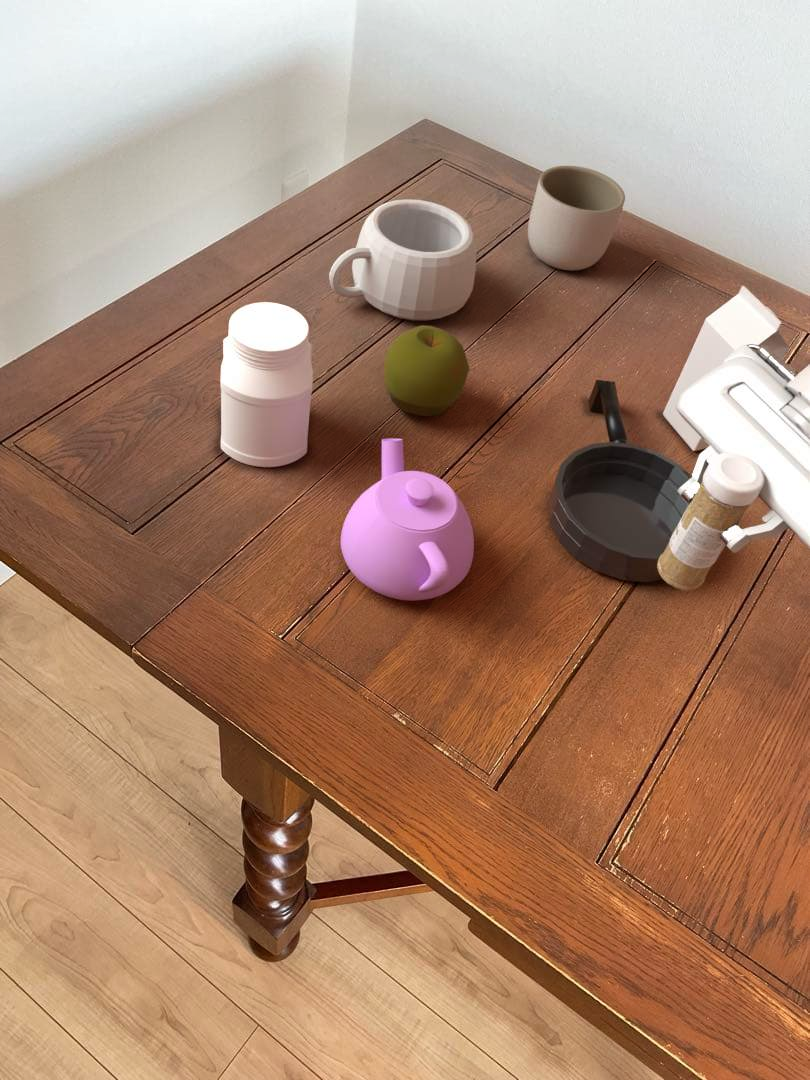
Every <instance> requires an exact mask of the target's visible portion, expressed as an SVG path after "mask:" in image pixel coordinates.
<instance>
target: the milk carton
mask: <svg viewBox="0 0 810 1080" xmlns="http://www.w3.org/2000/svg"><path fill="white" fill-rule="evenodd" d="M782 324H783V323H782V321H781V320H780V318H779V317H778V316H777V315H776V313H775V312H774V311H773V310H772V309H771V308H769V307H768V306H765V305H764V304H763V302H762V301H760V300H759V299H758V298H757V296H756V295H755V294H753V293H752V292H751V291H750V290H749V289H748V288H747V287H746V286H745V285H741V287H740V289H739V292H738V293H737V294H735V296H732V297H731V298H730V299H729V300H728V301H727V302H726V303H724V304H722V305H721V306H720V307H719V308H718V309H716V310H714V311H713V312H712V313H711V314H709V315H708V316H707V317H706V318H705V320H704V321H703V324H702V326H701V329H700V330H699V333H698V335H697V337H696V339H695V342H694V344H693V345H692V348H691V351H690V353H689V354H688V357H687V360H686V361H685V364H684V365H683V368H682V370H681V372H680V375H679V377H678V379H677V381H676V383H675V385H674V387H673V390H672V392H671V394H670V396H669V399H668V401H667V403H666V405H665V408H664V409H663V412H662V416H663V418H665V420H666V421H667V422H668V423H669V424H670V426H672V428H673V429H674V430H675V431H676V433H678V435H679V436H680V437H681V438H682V440H683V441H684V442H685V443H686V444H687V445H688V447H689V448H690V449H691V451H693V452H697V451H701V450H705V449H706V448H707V447H709V445H708V444H707V443H706V442H705V441H704V440H703V439H702V438H701V437H700V436H699V434H698V433H697V432H696V431H695V430H694V429H693V428H692V427H691V426H690V425H689V424H688V423H687V422H686V421H685V420H684V419H683V417H682V416H681V415H680V414H679V412H678V411H677V409H676V406H677V402H678V398H679V396H680V394H681V393H682V392H683V391H685V390H686V389H687V388H688V387H690V386H691V385H692V384H693V383H695V382H696V381H697V380H699V379H700V378H702V377H703V376H704V375H706V374H707V373H709V372H710V371H712V370H713V369H715V368H716V367H718V366H720V365H721V364H722V363H723V361H724V360H725V359H726V358H727V357H728V356H729V355H730V354H731V353H733V352H734V351H735V350H736V349H737V348H739V347H740V346H742V345H748V344H755V345H759V346H763V345H765V346H768V347H769V348H771V349H772V350H773V351H774V352H775V353H776V355H777V356H778V357H779V358H780V359H781V360H782V361H784V358H785V356H786V355H787V353H788V351H789V349H790V346H789V344H788V342H787V341H786V340H785V338H784V337H783V335H782V334H781V333H780V331H779V329H780V327H781V326H782ZM752 350H753V351H754V352H755V353H756V354H757V350H755V349H752ZM757 355H758V354H757ZM768 365H769V364H768ZM769 366H770V365H769ZM770 367H771V366H770ZM771 368H772V367H771ZM772 369H773V368H772ZM773 370H774V369H773Z"/></svg>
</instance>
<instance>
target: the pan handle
mask: <svg viewBox="0 0 810 1080" xmlns="http://www.w3.org/2000/svg"><path fill="white" fill-rule="evenodd" d="M617 390H618V389H617V386H616V382H615V381H613V380H612V381H611V380H602V379H596V380H595V382H594V385H593V387H592V390H591V393H590V395H589V398H588V407H589V412H591V413H598V414H599V413H600V414H603V416H604V421H605V426H606V431H607V436H608V442H618V443H627V444H629V442H628V438H627V437H628V436H627V433H626V429H625V424H624V419H623V415H622V411H621V406H620V402H619V401H620V400H619V397H618V391H617Z"/></svg>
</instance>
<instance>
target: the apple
mask: <svg viewBox="0 0 810 1080" xmlns="http://www.w3.org/2000/svg"><path fill="white" fill-rule="evenodd" d="M464 349H465V348H464V347H463V344H461V342H460V341H459V340H458V339H457V338H456V337H455V336H454V335H452V334H451V333H450V332H448V331H447V330H444V329H441V328H439V327H436V326H433V325H418V326H416V327H413V328H410V329H408V330H406V331H404V332H402V334H400V335H399V336H397V337H396V338H395V340H393V342H392V344H391V345H390V347H389V348H388V351H387V353H386V355H385V357H384V364H383V365H384V366H383V367H384V368H383V369H384V370H383V378H384V383H385V388H386V390H387V392H388V395H389V398H390V400H391V402H392V403H393V404H394V405H395V406H396V407H398V408H399V409H400V410H403V411H405V412H407V413H409V414H412V415H417V416H420V417H423V416H424V417H425V416H426V417H427V416H428V417H429V416H430V417H432V416H436V415H439V414H443V413H444V412H445V411H447V409H448V408H450V406H452V404H453V403H454V402H455V401H456V400H458V398H459V397H460V396H461V395H462V393H463V390H464V386H465V384H466V381H467V378H468V374H469V371H470V365H469V362H468V358H467V356H466V352H465V350H464Z"/></svg>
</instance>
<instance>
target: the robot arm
mask: <svg viewBox="0 0 810 1080" xmlns="http://www.w3.org/2000/svg"><path fill="white" fill-rule="evenodd" d="M752 349H755V350H757V354H758V355H757V354H756V353H755V352H754V351H753V350H752ZM768 364H769V365H770V366H771V367H772V368H773V369H774V370H773V369H772V368H771V367H770V366H769V365H768ZM676 409H677V411H678V412H679V414H680V415H681V416H682V417H683V419H684V420H685V421H686V422H687V423H688V424H689V425H690V426H691V427H692V428H693V429H694V430H695V431H696V432H697V433H698V434H699V436H700V437H701V438H702V439H703V440H704V441H705V442H706V443H707V444H708V445H709V447H707V448H705V449H703V450H702V451H701V452H700V453H699V454H698V456H697V461H696V463H695V466H694V468H693V470H692V474H691V476H692V477H691V478H690V479H689V480H688V481H687V482H686V483H685V484H683V485H682V486H681V487H680V488H679V489H678V493H679V494H680V495H681V496H682V497H683V498H684V499H685V500H686V502H687V503H688V504H690V503H691V502H692V500H693V497H694V496H695V494H696V492H697V490H698V488H699V487H700V485H701V483H702V481H703V475H704V473H705V471H706V469H707V467H708V465H709V463H710V462H711V460H712V459H713V458H714V457H715V456H717V455H719V454H722V453H735V454H740V455H742V456H745V457H747V458H749V459H750V460H752V461H753V462H754V463H756V464H757V465H758V467H759V468H760V469H761V471H762V473H763V475H764V484H763V487H762V489H761V491H760V492H759V494H758V496H757V497H758V498H759V499H760V500H761V501H762V502H763V503H764V504H765V505H766V506H767V507H768V508H769V509H770V510H769V511H767V512H766V513H765V514H763V516H761V520H762V522H763V523H762V524H758V525H753V526H749V527H745V528H741V527H740V526H739V524H738V525H737V524H736V523H734V524H733V525H732V526H731V527H729V529H728V531H725V532H723V533H722V534H721V535H720V537H719V538H720V539H721V540H722V541H723V542H724V544H725V547H727V548H728V549H729V551H730V552H731V553H732V554H735V553H738V552H739V551H740V550H741V549H743V547H745V546H746V545H747V544H749V543H750V542H751V541H752V542H756V541H762V540H767V539H772V538H778V537H779V536H780V535H781V534H782V533H784V532H785V531H786V530H787V529H789V530H790V531H791V532H792V533H793V534H794V535H795V537H797V538H798V540H799V541H801V542H802V544H803V545H805V547H806V548H807V549H808V550H809V551H810V363H809V364H807V366H806V367H804V368H803V369H802V370H801V371H800V372H798V371H797V370H796V369H794V368H793V367H792V366H791V365H789V364H788V363H787V362H785V361H784V360H781V359H780V358H779V357H778V356H777V355H776V353H775V352H774V351H773V350H772V349H771V348H769V347H768V346H765V345H763V346H759V345H755V344H748V345H742V346H740V347H739V348H737V349H736V350H735V351H734V352H733V353H731V354H730V355H729V356H728V357H727V358H726V359H725V360H724V361H723V363H722V364H721V365H720V366H718V367H716V368H715V369H713V370H712V371H710V372H709V373H707V374H706V375H704V376H703V377H702V378H700V379H699V380H697V381H696V382H695V383H693V384H692V385H691V386H690V387H688V388H687V389H686V390H685V391H683V392H682V393H681V394H680V396H679V398H678V402H677V406H676Z"/></svg>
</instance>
